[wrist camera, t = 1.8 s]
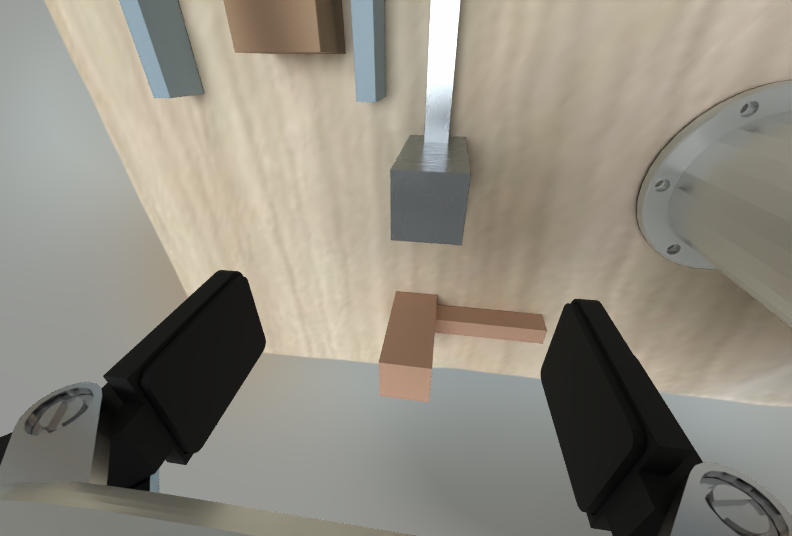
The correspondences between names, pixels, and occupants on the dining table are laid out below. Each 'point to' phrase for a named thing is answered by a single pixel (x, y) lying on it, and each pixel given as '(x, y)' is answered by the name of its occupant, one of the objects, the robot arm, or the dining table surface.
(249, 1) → the walnut block
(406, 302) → the salmon l-shaped piece
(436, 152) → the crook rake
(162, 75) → the cubby
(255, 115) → the dining table surface
